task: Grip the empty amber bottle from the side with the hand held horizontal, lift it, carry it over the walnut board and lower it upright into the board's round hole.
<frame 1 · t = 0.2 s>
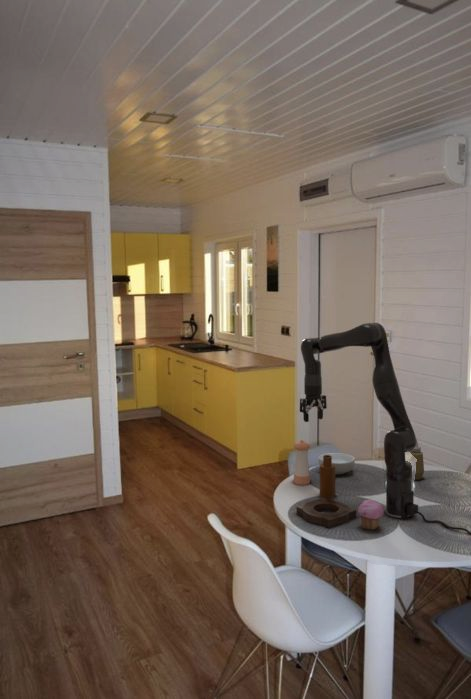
hand: (313, 420, 252), 29 cm above the table, tool pointing down, fingers open, 8 cm apart
squeeze bottle: (414, 478, 261), on the table
bottle: (327, 495, 241), on the table
board: (326, 515, 220), on the table
cupcake: (370, 528, 208), on the table
pepper shaker: (301, 482, 258), on the table
cereal bowl: (336, 472, 271), on the table
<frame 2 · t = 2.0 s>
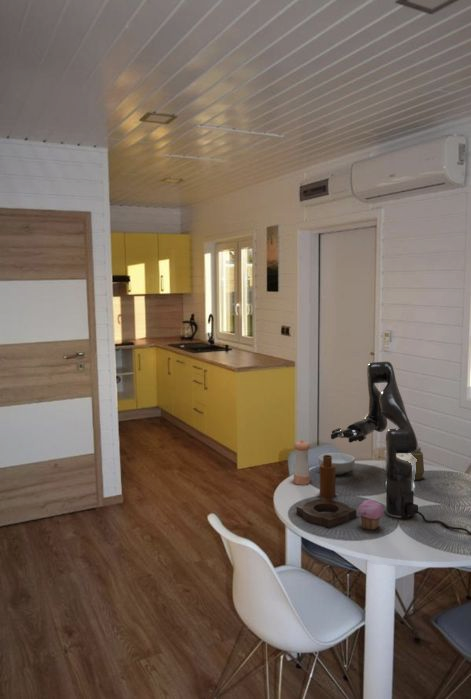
hand: (340, 438, 246), 22 cm above the table, tool horizontal, fingers open, 8 cm apart
nothing on the table moved.
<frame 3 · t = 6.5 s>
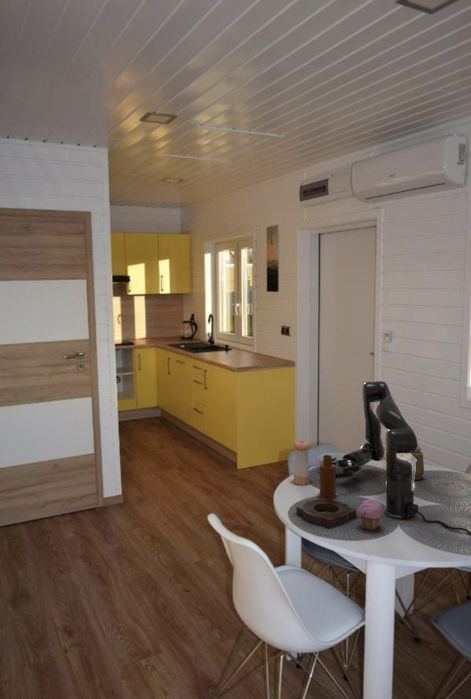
hand: (335, 468, 244), 10 cm above the table, tool horizontal, fingers open, 8 cm apart
nothing on the table moved.
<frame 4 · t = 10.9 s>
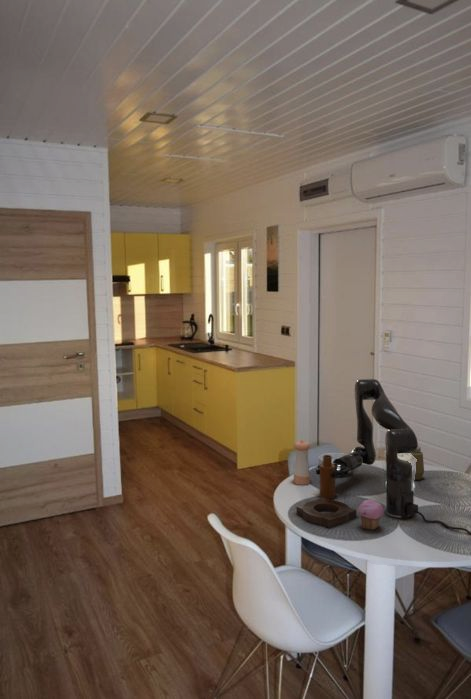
hand: (324, 473, 238), 10 cm above the table, tool horizontal, fingers closed on bottle, 6 cm apart
bottle: (327, 495, 241), on the table, touching gripper
everything else where it was.
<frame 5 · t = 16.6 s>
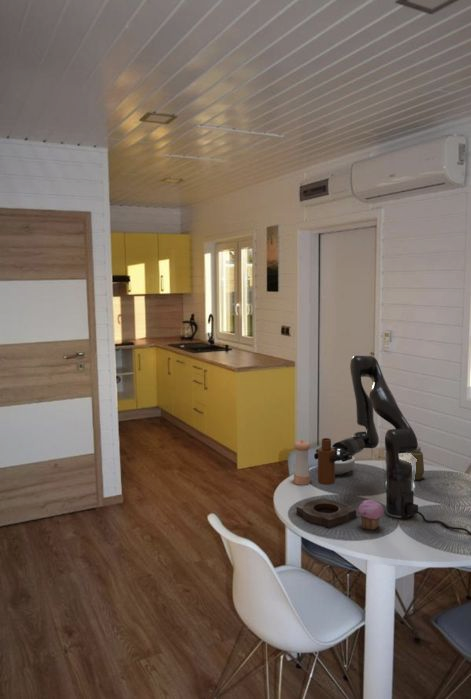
hand: (323, 458, 220), 22 cm above the table, tool horizontal, fingers closed on bottle, 6 cm apart
bottle: (326, 482, 223), point 12 cm above the table, touching gripper
everything else where it was.
when the fingers open (10 cm above the table, at t = 22.7 s): bottle stays where it is, resting in board.
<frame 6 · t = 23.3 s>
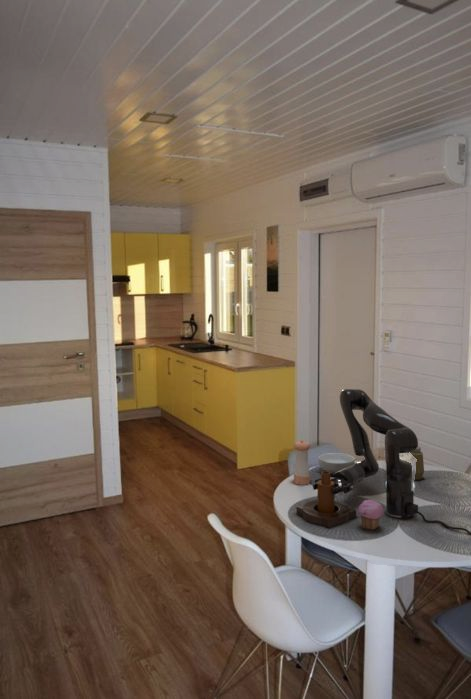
hand: (323, 489, 217), 11 cm above the table, tool horizontal, fingers open, 8 cm apart
bottle: (325, 515, 220), resting in board
everything else where it was.
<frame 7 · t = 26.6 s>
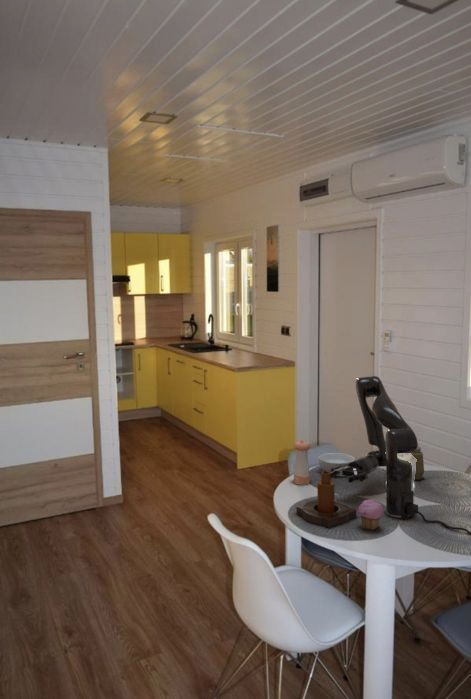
hand: (339, 477, 226), 12 cm above the table, tool horizontal, fingers open, 8 cm apart
nothing on the table moved.
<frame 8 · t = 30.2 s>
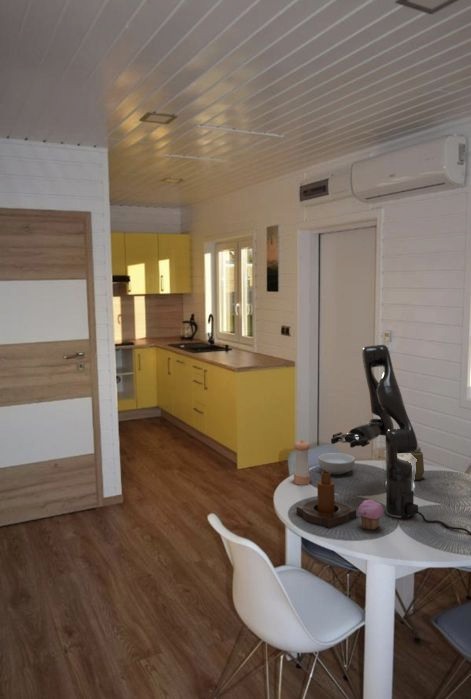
hand: (341, 443, 225), 26 cm above the table, tool horizontal, fingers open, 8 cm apart
nothing on the table moved.
at the end: bottle 0.1 cm off-centre in the board, point 0.0 cm above the board's base; bottle tilted 0°; the gripper is holding nothing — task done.
